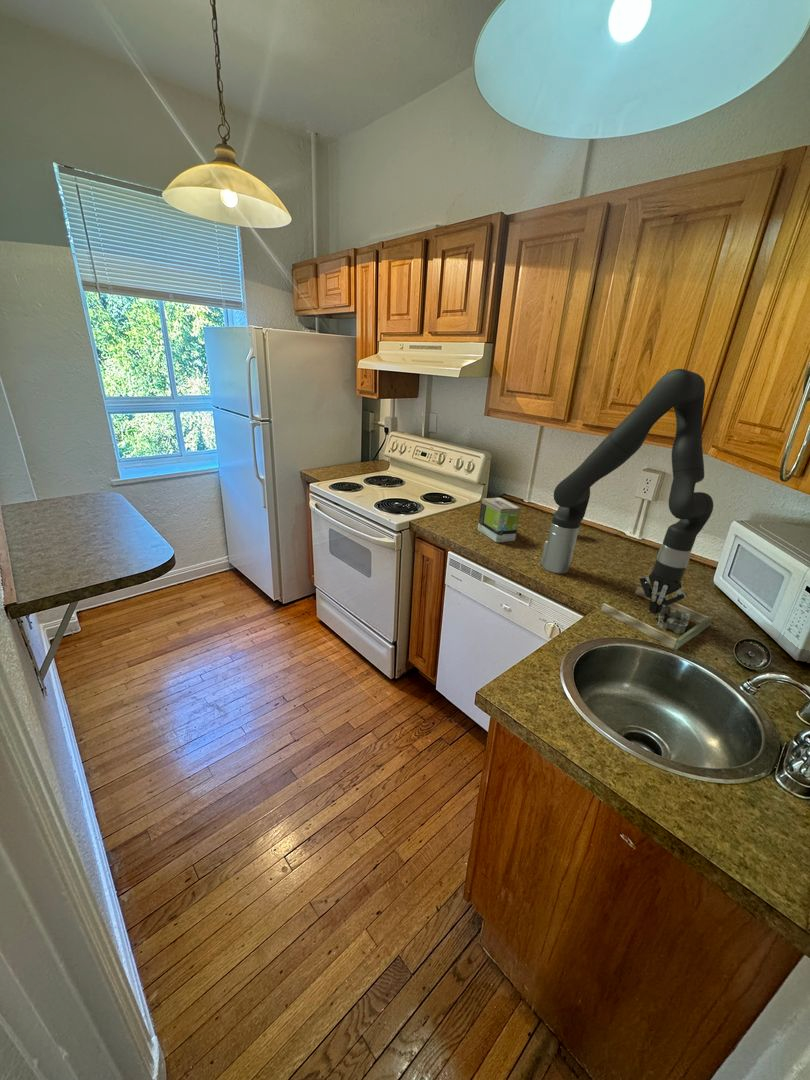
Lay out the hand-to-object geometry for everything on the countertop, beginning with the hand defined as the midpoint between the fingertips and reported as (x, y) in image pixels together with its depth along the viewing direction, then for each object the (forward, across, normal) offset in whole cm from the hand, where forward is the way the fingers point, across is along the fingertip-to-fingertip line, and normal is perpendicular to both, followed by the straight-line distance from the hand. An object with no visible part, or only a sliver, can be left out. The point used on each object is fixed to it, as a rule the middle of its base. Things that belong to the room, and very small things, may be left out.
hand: (653, 612), depth 126 cm
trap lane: (+2, 0, 0) cm, 2 cm away
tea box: (+2, -69, +6) cm, 69 cm away
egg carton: (+2, +5, +2) cm, 5 cm away
